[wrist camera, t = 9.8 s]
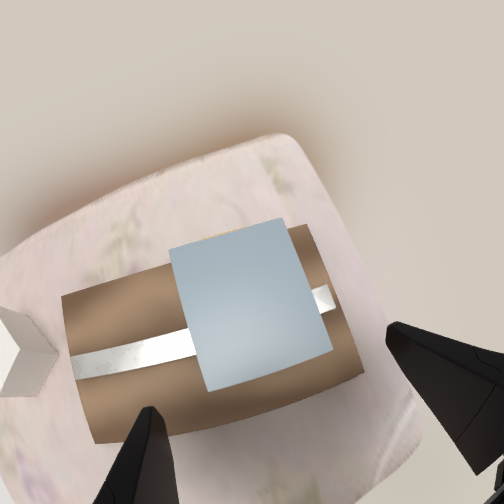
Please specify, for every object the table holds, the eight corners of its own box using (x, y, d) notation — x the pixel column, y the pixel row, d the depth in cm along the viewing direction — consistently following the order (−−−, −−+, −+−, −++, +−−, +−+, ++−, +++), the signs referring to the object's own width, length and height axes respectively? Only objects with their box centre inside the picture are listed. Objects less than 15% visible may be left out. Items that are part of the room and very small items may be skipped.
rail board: (360, 371, 21) (372, 372, 19) (100, 441, 18) (87, 447, 16) (304, 228, 26) (309, 215, 24) (66, 298, 23) (52, 292, 20)
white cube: (29, 316, 22) (-9, 302, 16) (59, 355, 21) (20, 348, 15) (7, 356, 20) (-30, 349, 14) (36, 396, 19) (-2, 397, 13)
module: (292, 354, 21) (333, 349, 11) (224, 376, 20) (208, 392, 10) (263, 272, 23) (277, 207, 14) (198, 292, 22) (166, 238, 13)
